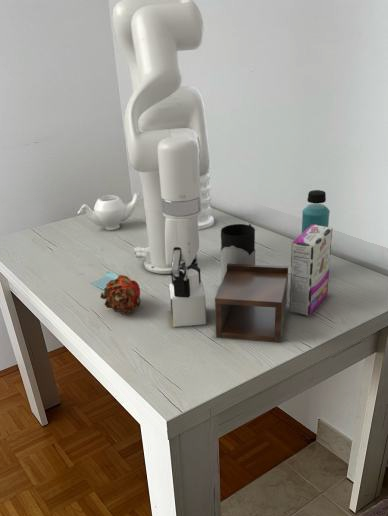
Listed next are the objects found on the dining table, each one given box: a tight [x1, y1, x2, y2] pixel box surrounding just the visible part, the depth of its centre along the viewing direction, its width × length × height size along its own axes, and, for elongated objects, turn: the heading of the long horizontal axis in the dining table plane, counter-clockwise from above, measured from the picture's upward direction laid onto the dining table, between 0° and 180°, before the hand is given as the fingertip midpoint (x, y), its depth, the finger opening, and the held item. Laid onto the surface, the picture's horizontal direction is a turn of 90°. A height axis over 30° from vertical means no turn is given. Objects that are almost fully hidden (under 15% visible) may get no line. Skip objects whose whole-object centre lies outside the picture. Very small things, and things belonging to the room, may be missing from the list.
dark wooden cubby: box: [214, 264, 289, 343], centre depth 113 cm, size 13×14×10 cm
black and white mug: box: [220, 222, 256, 284], centre depth 127 cm, size 9×14×15 cm, turn 158°
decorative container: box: [197, 161, 215, 230], centre depth 164 cm, size 12×12×18 cm
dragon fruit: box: [100, 274, 141, 314], centre depth 122 cm, size 8×8×12 cm
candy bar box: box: [289, 225, 333, 317], centre depth 117 cm, size 11×5×16 cm, turn 148°
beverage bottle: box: [300, 189, 331, 235], centre depth 130 cm, size 6×7×20 cm
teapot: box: [76, 192, 141, 231], centre depth 167 cm, size 10×20×9 cm, turn 112°
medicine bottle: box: [168, 264, 207, 328], centre depth 116 cm, size 7×7×12 cm
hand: (186, 287), depth 115 cm, fingers closed on medicine bottle, 6 cm apart
